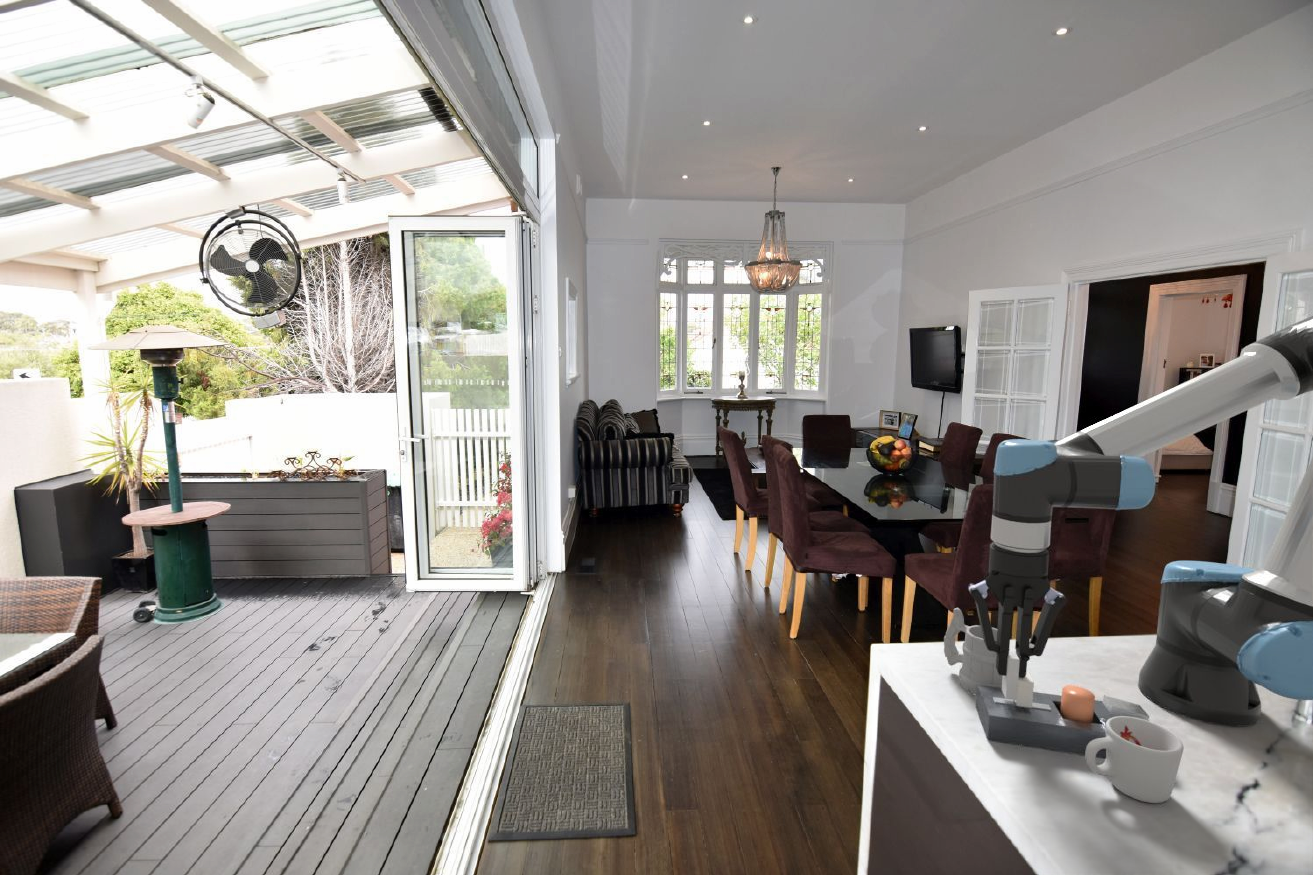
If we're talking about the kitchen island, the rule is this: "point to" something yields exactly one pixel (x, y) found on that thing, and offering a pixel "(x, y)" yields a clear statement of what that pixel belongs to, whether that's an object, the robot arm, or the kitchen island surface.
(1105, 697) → the rocker
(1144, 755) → the cup
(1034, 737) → the console
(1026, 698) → the slider
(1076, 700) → the button
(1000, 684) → the mug
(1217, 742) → the kitchen island surface
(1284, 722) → the kitchen island surface
